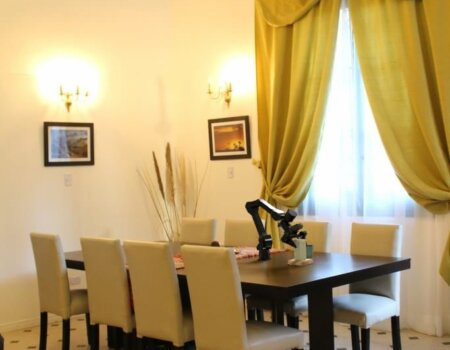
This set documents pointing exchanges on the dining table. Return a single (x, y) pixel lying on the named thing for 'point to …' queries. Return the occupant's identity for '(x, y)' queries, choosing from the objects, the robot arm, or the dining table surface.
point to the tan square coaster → (300, 262)
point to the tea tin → (300, 249)
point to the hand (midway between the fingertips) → (301, 247)
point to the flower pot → (309, 251)
